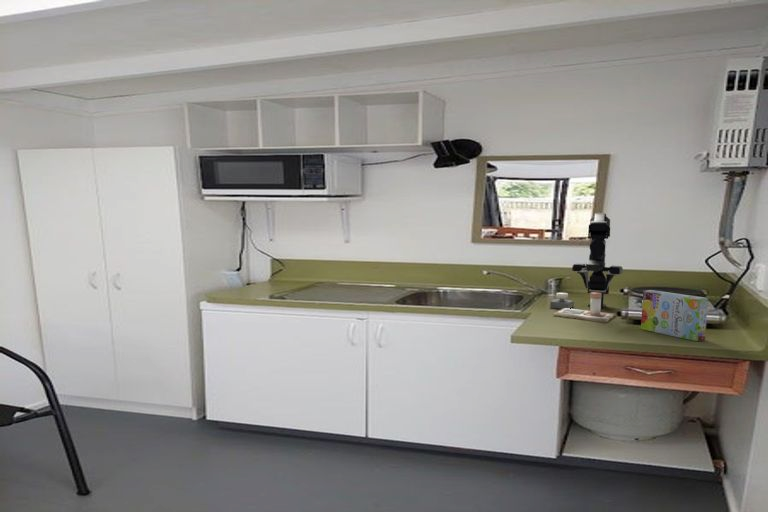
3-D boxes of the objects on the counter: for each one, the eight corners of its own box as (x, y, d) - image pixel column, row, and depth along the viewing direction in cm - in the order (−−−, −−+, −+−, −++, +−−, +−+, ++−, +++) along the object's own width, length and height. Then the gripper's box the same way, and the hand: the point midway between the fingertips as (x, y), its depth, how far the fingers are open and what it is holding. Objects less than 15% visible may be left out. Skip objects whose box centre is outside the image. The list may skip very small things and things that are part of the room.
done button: (558, 302, 236) (558, 292, 236) (569, 304, 233) (569, 293, 233) (554, 304, 232) (554, 293, 232) (565, 305, 229) (566, 294, 229)
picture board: (564, 310, 227) (564, 307, 227) (614, 316, 214) (614, 313, 214) (553, 315, 215) (553, 312, 215) (605, 322, 203) (605, 319, 202)
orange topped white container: (591, 312, 215) (592, 291, 214) (601, 314, 212) (602, 292, 212) (588, 314, 212) (589, 293, 211) (599, 315, 209) (600, 294, 208)
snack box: (706, 340, 176) (708, 297, 175) (697, 342, 174) (699, 299, 172) (648, 327, 195) (650, 288, 193) (639, 329, 192) (641, 290, 190)
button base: (556, 305, 238) (556, 298, 238) (573, 307, 234) (573, 300, 233) (550, 307, 232) (550, 301, 232) (567, 309, 227) (568, 303, 227)
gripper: (568, 252, 209) (567, 289, 210) (617, 254, 197) (615, 294, 199) (576, 250, 217) (575, 286, 219) (623, 252, 206) (622, 290, 208)
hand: (596, 289), depth 211 cm, fingers open, 7 cm apart
